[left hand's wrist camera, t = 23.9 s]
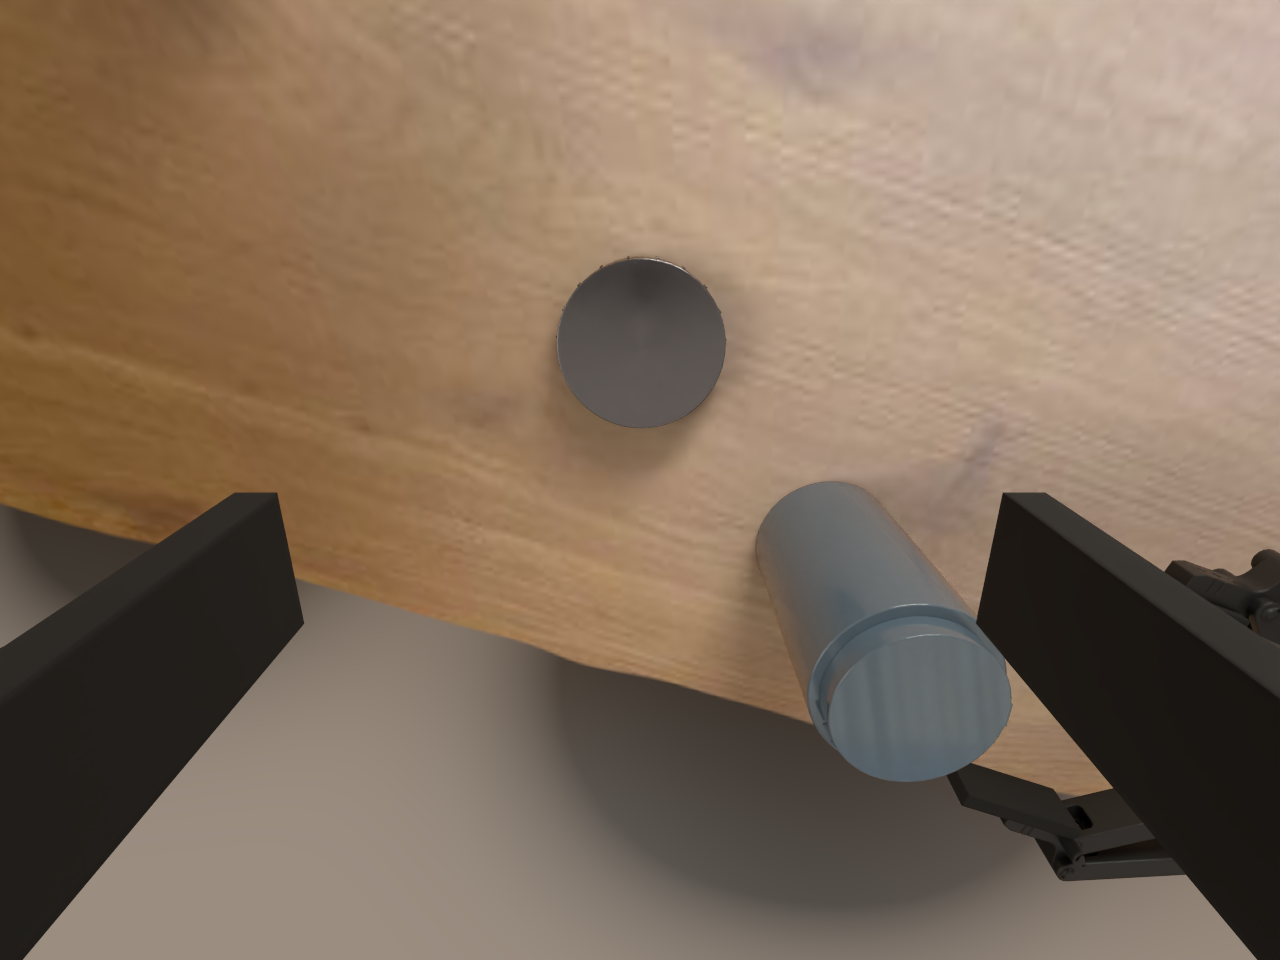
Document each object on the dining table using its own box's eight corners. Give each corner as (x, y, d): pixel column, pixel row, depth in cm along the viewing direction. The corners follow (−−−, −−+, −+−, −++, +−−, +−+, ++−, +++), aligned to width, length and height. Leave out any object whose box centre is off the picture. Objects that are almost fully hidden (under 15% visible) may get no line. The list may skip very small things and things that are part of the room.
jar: (747, 599, 42) (800, 786, 28) (765, 476, 39) (834, 616, 25) (877, 608, 43) (994, 797, 29) (905, 486, 40) (1051, 630, 26)
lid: (742, 393, 38) (746, 401, 36) (591, 441, 39) (589, 450, 37) (697, 232, 35) (699, 232, 33) (534, 288, 36) (530, 291, 34)
